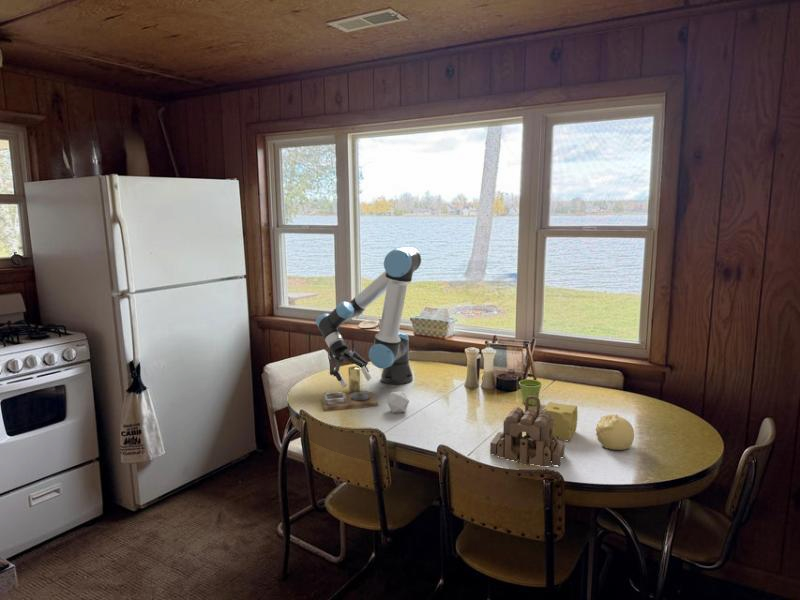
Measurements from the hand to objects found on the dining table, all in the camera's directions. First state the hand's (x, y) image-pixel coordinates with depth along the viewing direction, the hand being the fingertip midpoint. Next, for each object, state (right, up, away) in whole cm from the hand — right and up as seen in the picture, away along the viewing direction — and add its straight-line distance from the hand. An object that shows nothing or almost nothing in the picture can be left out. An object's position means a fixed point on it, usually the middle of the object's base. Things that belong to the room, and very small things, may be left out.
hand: (357, 382), depth 237 cm
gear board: (-3, -7, -11) cm, 13 cm away
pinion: (-1, -4, +2) cm, 5 cm away
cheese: (+76, -11, -46) cm, 89 cm away
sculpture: (+91, -13, -56) cm, 108 cm away
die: (+18, -8, -22) cm, 29 cm away
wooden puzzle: (+61, -14, -61) cm, 88 cm away
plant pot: (+73, -6, -15) cm, 75 cm away
